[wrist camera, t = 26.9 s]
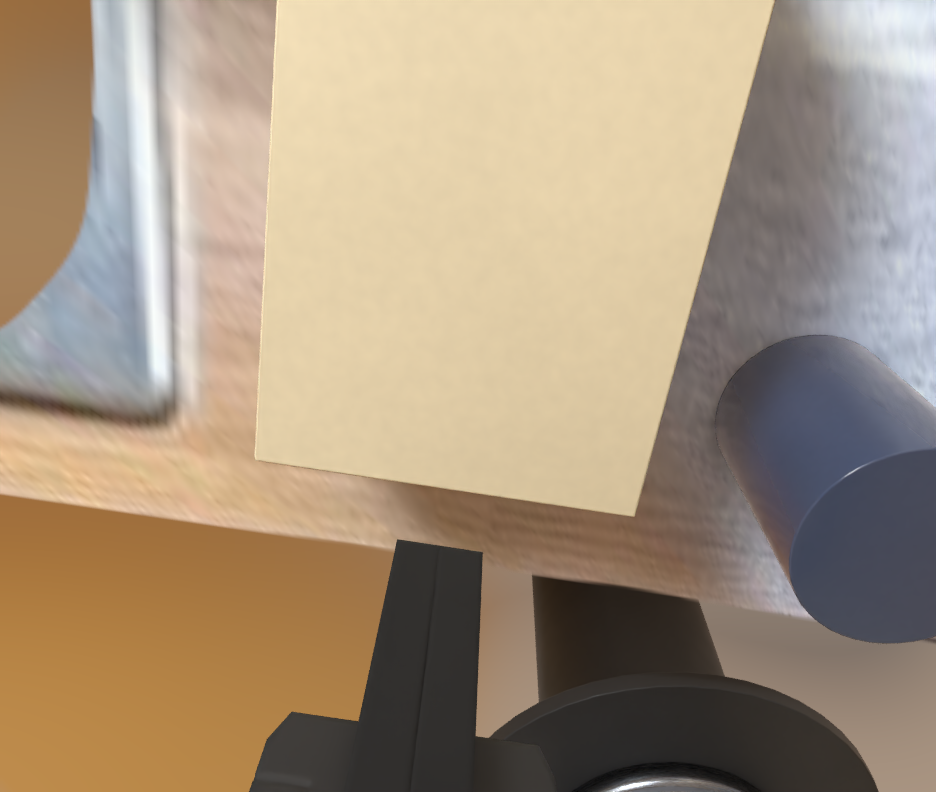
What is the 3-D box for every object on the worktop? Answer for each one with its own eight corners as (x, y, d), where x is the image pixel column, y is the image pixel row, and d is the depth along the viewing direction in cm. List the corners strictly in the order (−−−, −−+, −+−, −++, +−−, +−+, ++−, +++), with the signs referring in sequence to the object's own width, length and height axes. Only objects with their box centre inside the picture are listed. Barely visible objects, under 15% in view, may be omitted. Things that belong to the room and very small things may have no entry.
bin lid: (631, 506, 29) (635, 518, 28) (260, 451, 28) (253, 461, 28) (809, -156, 21) (821, -163, 20) (296, -244, 20) (288, -255, 20)
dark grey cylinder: (857, 502, 36) (976, 658, 27) (695, 477, 36) (759, 627, 27) (921, 349, 33) (1080, 468, 24) (743, 321, 33) (835, 431, 24)
